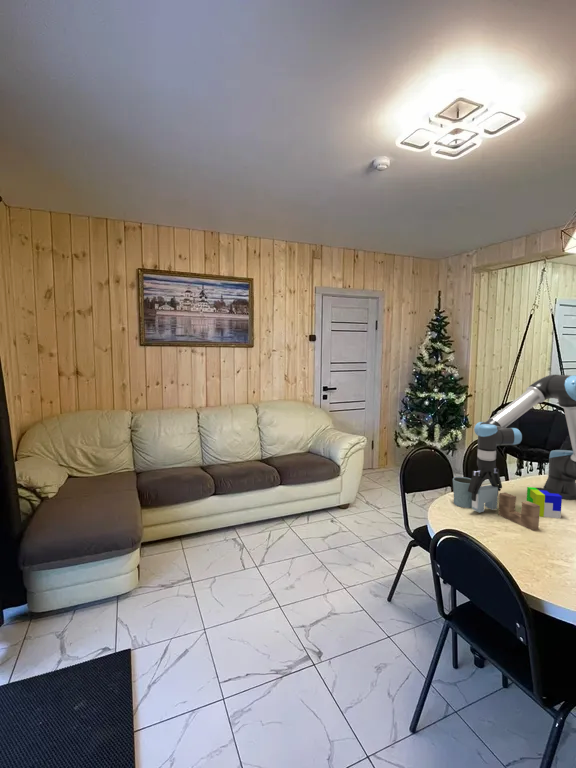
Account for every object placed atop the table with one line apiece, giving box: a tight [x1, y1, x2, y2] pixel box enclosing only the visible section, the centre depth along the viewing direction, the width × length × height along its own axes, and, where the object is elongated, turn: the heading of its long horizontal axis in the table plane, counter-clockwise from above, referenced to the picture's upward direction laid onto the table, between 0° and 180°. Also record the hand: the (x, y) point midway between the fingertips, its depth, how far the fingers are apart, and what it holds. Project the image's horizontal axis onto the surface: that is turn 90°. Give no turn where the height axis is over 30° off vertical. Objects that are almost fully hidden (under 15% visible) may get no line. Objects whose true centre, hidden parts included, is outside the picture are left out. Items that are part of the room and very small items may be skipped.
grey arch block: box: [471, 484, 499, 513], centre depth 173 cm, size 11×4×10 cm, turn 111°
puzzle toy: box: [526, 486, 563, 519], centre depth 172 cm, size 10×10×10 cm
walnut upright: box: [497, 492, 540, 531], centre depth 162 cm, size 16×4×10 cm, turn 21°
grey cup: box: [452, 476, 472, 509], centre depth 181 cm, size 10×10×12 cm
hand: (484, 505), depth 173 cm, fingers closed on grey arch block, 11 cm apart
